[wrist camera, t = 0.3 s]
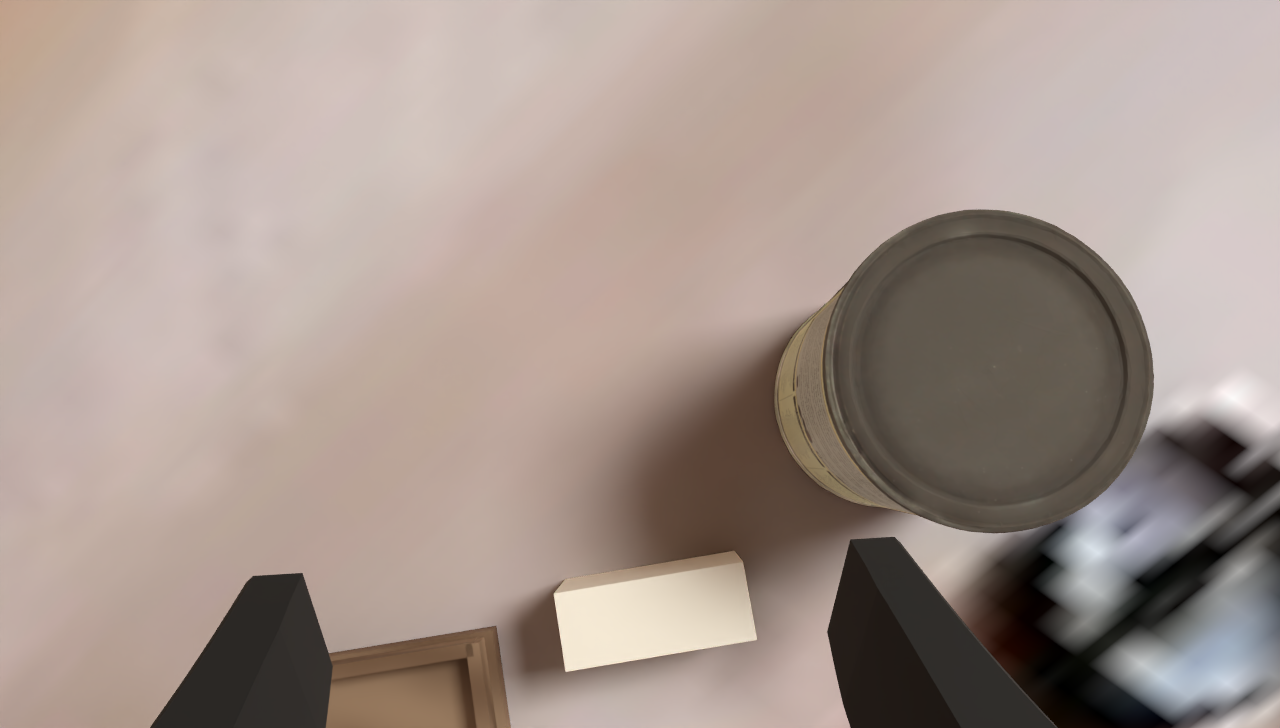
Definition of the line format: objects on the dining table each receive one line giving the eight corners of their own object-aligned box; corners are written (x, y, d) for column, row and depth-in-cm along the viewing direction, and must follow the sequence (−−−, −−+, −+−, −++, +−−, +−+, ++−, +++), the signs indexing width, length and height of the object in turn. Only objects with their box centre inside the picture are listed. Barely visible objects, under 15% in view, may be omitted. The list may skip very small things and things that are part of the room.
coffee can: (860, 247, 43) (958, 144, 29) (1034, 382, 42) (1222, 344, 28) (726, 413, 42) (759, 390, 28) (899, 554, 41) (1023, 603, 27)
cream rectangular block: (746, 619, 41) (756, 639, 37) (576, 648, 41) (565, 671, 37) (734, 550, 41) (743, 561, 37) (565, 578, 41) (553, 593, 37)
